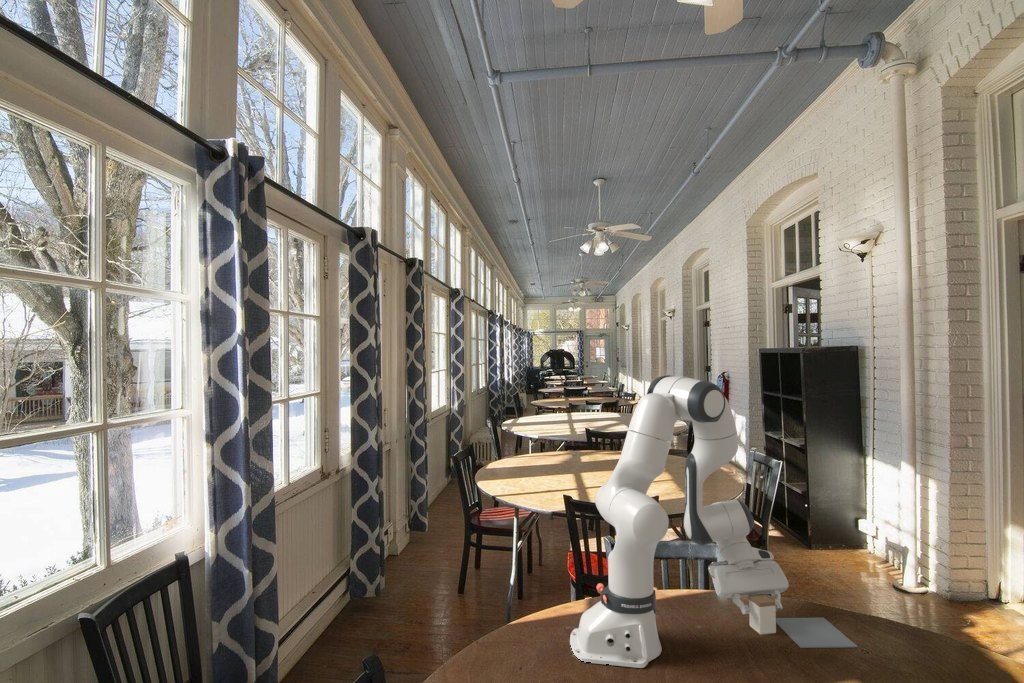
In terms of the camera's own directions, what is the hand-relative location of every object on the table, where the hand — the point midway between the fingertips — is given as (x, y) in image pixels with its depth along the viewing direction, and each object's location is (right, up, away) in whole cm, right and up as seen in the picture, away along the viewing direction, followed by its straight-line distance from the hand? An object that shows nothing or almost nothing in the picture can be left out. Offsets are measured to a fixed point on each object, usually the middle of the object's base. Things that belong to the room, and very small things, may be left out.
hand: (763, 611), depth 136 cm
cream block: (0, -5, 0) cm, 5 cm away
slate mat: (+12, -4, -2) cm, 13 cm away
